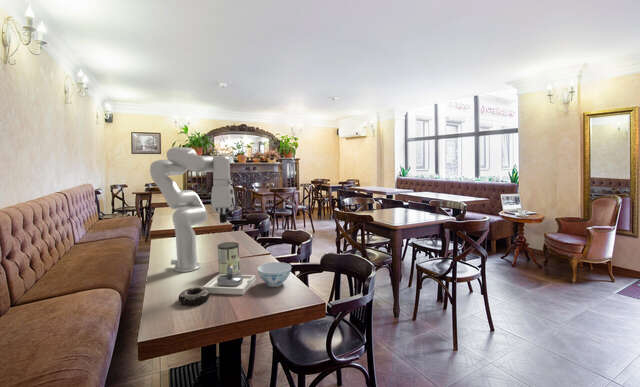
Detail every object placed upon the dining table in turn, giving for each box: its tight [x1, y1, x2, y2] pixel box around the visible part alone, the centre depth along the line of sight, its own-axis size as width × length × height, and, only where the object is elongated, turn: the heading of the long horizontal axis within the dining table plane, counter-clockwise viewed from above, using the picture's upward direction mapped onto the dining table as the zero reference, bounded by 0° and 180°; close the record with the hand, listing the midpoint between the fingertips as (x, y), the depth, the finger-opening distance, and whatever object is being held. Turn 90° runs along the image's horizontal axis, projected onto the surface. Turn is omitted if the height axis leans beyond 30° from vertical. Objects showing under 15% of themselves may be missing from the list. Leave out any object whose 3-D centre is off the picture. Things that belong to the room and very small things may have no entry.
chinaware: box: [257, 261, 292, 288], centre depth 147 cm, size 15×15×8 cm
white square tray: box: [202, 273, 257, 295], centre depth 145 cm, size 18×16×3 cm
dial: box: [217, 263, 243, 287], centre depth 145 cm, size 12×11×7 cm
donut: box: [177, 286, 211, 307], centre depth 131 cm, size 12×12×4 cm
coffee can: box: [217, 241, 241, 274], centre depth 163 cm, size 10×10×14 cm
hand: (223, 222), depth 152 cm, fingers closed
